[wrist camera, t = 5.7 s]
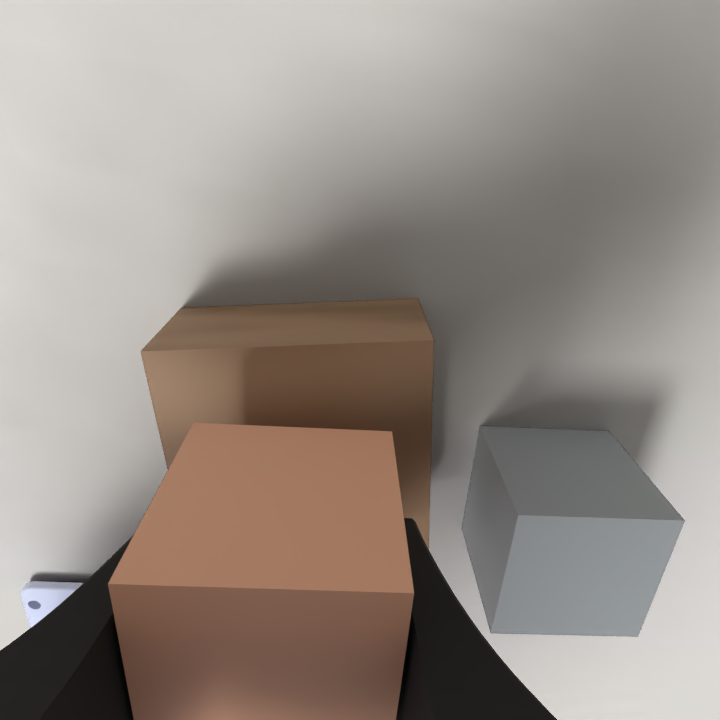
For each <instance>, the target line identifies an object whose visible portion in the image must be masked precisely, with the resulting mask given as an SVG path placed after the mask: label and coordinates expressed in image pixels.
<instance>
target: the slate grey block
mask: <svg viewBox="0 0 720 720" xmlns="http://www.w3.org/2000/svg"><path fill="white" fill-rule="evenodd" d="M684 521H685V520H684V519H683V518H682V517H681V516H680V514H679V513H678V512H677V511H676V510H675V508H674V507H673V506H672V505H671V504H670V503H669V501H668V500H667V499H666V498H665V497H664V495H663V494H662V493H661V492H660V491H659V490H658V488H657V487H656V486H655V485H654V484H653V482H652V481H651V480H650V479H649V478H648V477H647V475H646V474H645V473H644V472H643V471H642V469H641V468H640V467H639V466H638V465H637V464H636V462H635V461H634V460H633V459H632V458H631V456H630V455H629V454H628V453H627V452H626V451H625V449H624V448H623V447H622V446H621V445H620V443H619V442H618V441H617V440H616V439H615V438H614V436H613V435H612V434H611V433H610V432H609V431H597V430H572V429H547V428H522V427H497V426H480V428H479V433H478V439H477V445H476V450H475V456H474V462H473V467H472V473H471V479H470V484H469V490H468V495H467V501H466V507H465V512H464V518H463V524H462V531H463V534H464V538H465V542H466V545H467V549H468V553H469V556H470V560H471V563H472V567H473V571H474V574H475V578H476V581H477V585H478V589H479V592H480V596H481V599H482V603H483V607H484V610H485V614H486V618H487V621H488V625H489V628H490V632H491V633H502V634H544V635H587V636H629V637H638V635H639V633H640V630H641V628H642V625H643V623H644V620H645V618H646V615H647V613H648V610H649V608H650V605H651V603H652V600H653V598H654V595H655V593H656V591H657V588H658V586H659V583H660V581H661V578H662V576H663V573H664V571H665V568H666V566H667V563H668V561H669V558H670V556H671V553H672V551H673V549H674V546H675V544H676V541H677V539H678V536H679V534H680V531H681V529H682V526H683V524H684Z"/></svg>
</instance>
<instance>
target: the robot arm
mask: <svg viewBox="0 0 720 720" xmlns="http://www.w3.org/2000/svg"><path fill="white" fill-rule="evenodd" d="M404 522H405V530H406V537H407V544H408V552H409V559H410V566H411V574H412V581H413V588H414V598H413V605H412V612H411V619H410V626H409V633H408V640H407V646H406V653H405V660H404V667H403V674H402V681H401V688H400V695H399V702H398V709H397V716H396V720H557V719H556V718H555V717H554V716H553V715H552V714H551V713H550V712H549V711H548V710H547V709H546V708H545V707H544V706H543V705H542V704H541V702H540V701H539V700H538V699H537V698H536V697H535V696H534V695H533V694H532V693H531V692H530V691H529V690H528V689H527V688H526V687H525V685H524V684H523V683H522V682H521V681H520V680H519V679H518V678H517V677H516V676H515V675H514V673H513V672H512V671H511V670H510V669H509V667H508V666H507V665H506V664H505V663H504V662H503V660H502V659H501V658H500V657H499V656H498V654H497V653H496V652H495V651H494V649H493V648H492V647H491V646H490V644H489V643H488V642H487V640H486V639H485V638H484V637H483V635H482V634H481V632H480V631H479V630H478V628H477V627H476V626H475V624H474V623H473V621H472V620H471V619H470V617H469V616H468V614H467V613H466V611H465V610H464V608H463V607H462V605H461V604H460V602H459V601H458V599H457V598H456V596H455V595H454V593H453V591H452V590H451V588H450V586H449V585H448V583H447V581H446V580H445V578H444V576H443V575H442V573H441V571H440V570H439V568H438V566H437V564H436V563H435V561H434V559H433V557H432V555H431V553H430V551H429V549H428V547H427V545H426V543H425V541H424V539H423V537H422V535H421V533H420V531H419V528H418V526H417V524H416V522H415V521H414V520H413V519H412V518H404ZM133 536H134V535H133ZM133 536H132V537H133ZM132 537H131V538H130V539H129V540H128V541H127V542H126V543H125V544H124V545H123V546H122V547H121V548H120V549H119V550H118V551H117V552H116V553H115V554H114V555H113V556H112V557H111V558H110V559H109V560H108V561H107V562H106V563H105V564H104V565H103V566H101V567H100V568H99V569H98V570H97V571H96V572H95V573H94V574H93V575H92V576H91V577H90V578H89V579H88V580H87V581H86V582H84V583H74V582H42V581H33V582H29V583H27V584H26V585H25V587H24V588H23V589H22V591H21V598H22V601H23V605H24V608H25V612H26V615H27V619H28V622H29V625H30V629H29V630H27V631H26V632H25V633H24V634H22V635H21V636H20V637H18V638H17V639H16V640H14V641H13V642H12V643H10V644H9V645H8V646H6V647H5V648H3V649H2V650H1V651H0V720H134V719H133V713H132V708H131V703H130V697H129V692H128V687H127V682H126V676H125V671H124V666H123V661H122V655H121V650H120V645H119V640H118V634H117V629H116V624H115V619H114V613H113V608H112V603H111V597H110V592H109V587H108V583H109V581H110V579H111V577H112V575H113V573H114V571H115V570H116V568H117V566H118V564H119V562H120V560H121V558H122V556H123V554H124V553H125V551H126V549H127V547H128V545H129V543H130V541H131V539H132Z"/></svg>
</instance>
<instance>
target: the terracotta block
mask: <svg viewBox="0 0 720 720" xmlns="http://www.w3.org/2000/svg"><path fill="white" fill-rule="evenodd" d="M108 587H109V592H110V597H111V603H112V608H113V613H114V619H115V624H116V629H117V634H118V640H119V645H120V650H121V655H122V661H123V666H124V671H125V676H126V682H127V687H128V692H129V697H130V703H131V708H132V713H133V719H134V720H396V716H397V709H398V702H399V695H400V688H401V681H402V674H403V667H404V660H405V653H406V646H407V640H408V633H409V626H410V619H411V612H412V605H413V598H414V588H413V581H412V574H411V566H410V559H409V552H408V544H407V537H406V530H405V522H404V515H403V508H402V501H401V493H400V486H399V479H398V471H397V464H396V457H395V449H394V442H393V435H392V431H372V430H349V429H326V428H303V427H280V426H257V425H234V424H211V423H193V424H192V426H191V428H190V430H189V432H188V434H187V436H186V438H185V439H184V441H183V443H182V445H181V447H180V449H179V451H178V453H177V454H176V456H175V458H174V460H173V462H172V464H171V466H170V468H169V470H168V471H167V473H166V475H165V477H164V479H163V481H162V483H161V485H160V487H159V488H158V490H157V492H156V494H155V496H154V498H153V500H152V502H151V504H150V505H149V507H148V509H147V511H146V513H145V515H144V517H143V519H142V520H141V522H140V524H139V526H138V528H137V530H136V532H135V534H134V536H133V537H132V539H131V541H130V543H129V545H128V547H127V549H126V551H125V553H124V554H123V556H122V558H121V560H120V562H119V564H118V566H117V568H116V570H115V571H114V573H113V575H112V577H111V579H110V581H109V583H108Z"/></svg>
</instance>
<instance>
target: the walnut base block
mask: <svg viewBox="0 0 720 720" xmlns="http://www.w3.org/2000/svg"><path fill="white" fill-rule="evenodd" d="M141 355H142V360H143V364H144V368H145V373H146V377H147V381H148V386H149V390H150V394H151V399H152V403H153V407H154V412H155V416H156V420H157V425H158V429H159V433H160V438H161V442H162V446H163V451H164V455H165V460H166V464H167V468H168V470H169V468H170V466H171V464H172V462H173V460H174V458H175V456H176V454H177V453H178V451H179V449H180V447H181V445H182V443H183V441H184V439H185V438H186V436H187V434H188V432H189V430H190V428H191V426H192V424H193V423H211V424H234V425H257V426H280V427H303V428H326V429H349V430H372V431H392V435H393V442H394V449H395V457H396V464H397V471H398V479H399V486H400V493H401V501H402V508H403V515H404V518H412V519H413V520H414V521H415V522H416V524H417V526H418V528H419V531H420V533H421V535H422V537H423V539H424V541H425V543H426V545H427V547H428V549H429V512H430V473H431V434H432V395H433V356H434V339H433V336H432V334H431V331H430V329H429V326H428V323H427V321H426V318H425V316H424V313H423V311H422V308H421V305H420V303H419V300H418V298H415V299H390V300H364V301H339V302H313V303H287V304H262V305H236V306H211V307H185V308H181V309H180V310H179V311H178V312H177V313H176V314H175V315H174V316H173V317H172V318H171V319H170V320H169V322H168V323H167V324H166V325H165V326H164V327H163V328H162V329H161V330H160V331H159V332H158V333H157V334H156V335H155V337H154V338H153V339H152V340H151V341H150V342H149V343H148V344H147V345H146V346H145V347H144V348H143V349H142V351H141Z"/></svg>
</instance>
